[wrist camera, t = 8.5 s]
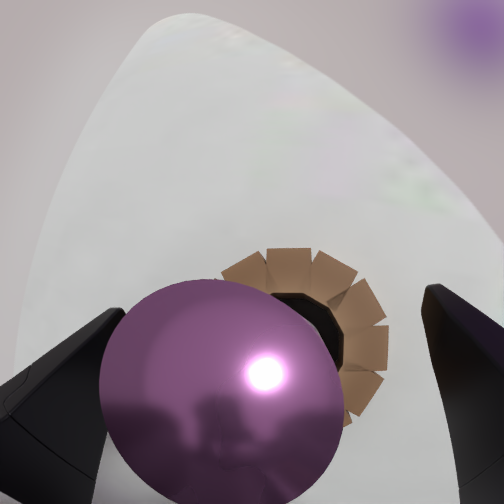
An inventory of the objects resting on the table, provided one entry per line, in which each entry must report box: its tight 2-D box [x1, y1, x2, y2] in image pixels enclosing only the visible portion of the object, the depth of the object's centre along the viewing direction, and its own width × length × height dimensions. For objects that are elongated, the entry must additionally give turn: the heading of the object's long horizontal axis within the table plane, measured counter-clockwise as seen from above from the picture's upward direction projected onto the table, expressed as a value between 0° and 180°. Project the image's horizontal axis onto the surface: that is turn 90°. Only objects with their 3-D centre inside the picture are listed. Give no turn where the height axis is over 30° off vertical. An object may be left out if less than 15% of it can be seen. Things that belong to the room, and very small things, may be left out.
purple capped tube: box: [99, 279, 344, 504], centre depth 9 cm, size 3×3×13 cm
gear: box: [214, 248, 389, 427], centre depth 14 cm, size 9×9×3 cm
